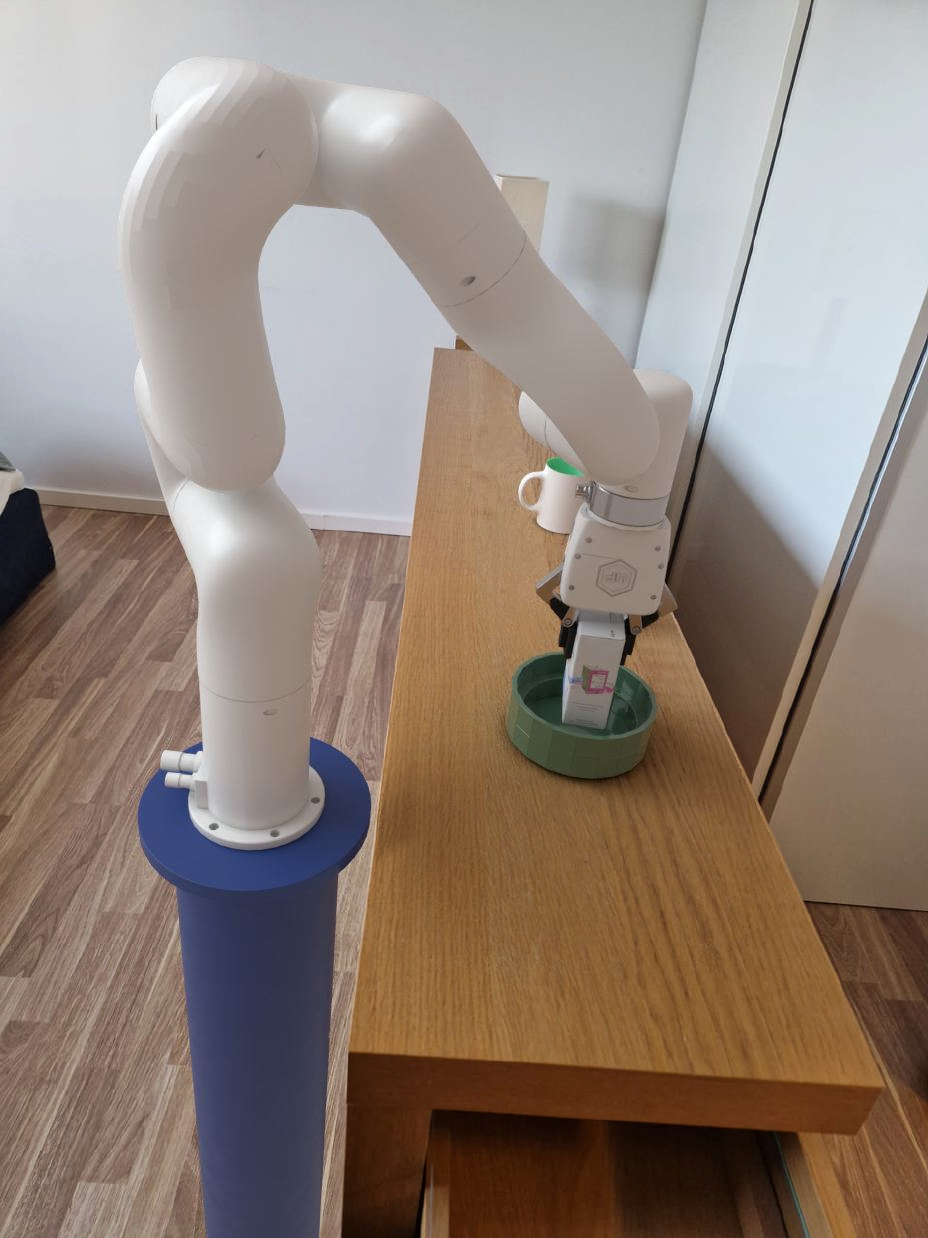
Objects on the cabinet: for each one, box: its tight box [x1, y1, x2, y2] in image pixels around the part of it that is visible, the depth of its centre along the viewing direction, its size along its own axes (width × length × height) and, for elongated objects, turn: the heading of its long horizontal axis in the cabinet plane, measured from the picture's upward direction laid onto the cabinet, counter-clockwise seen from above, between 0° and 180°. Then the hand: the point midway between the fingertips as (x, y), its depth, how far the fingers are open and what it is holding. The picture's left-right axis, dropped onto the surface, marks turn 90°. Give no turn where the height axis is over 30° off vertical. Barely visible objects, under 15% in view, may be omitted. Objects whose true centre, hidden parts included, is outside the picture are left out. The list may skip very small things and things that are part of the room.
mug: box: [517, 456, 591, 535], centre depth 146 cm, size 12×8×10 cm
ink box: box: [562, 609, 625, 729], centre depth 95 cm, size 9×5×12 cm, turn 174°
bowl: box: [505, 650, 659, 780], centre depth 98 cm, size 16×16×6 cm
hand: (593, 653), depth 94 cm, fingers closed on ink box, 5 cm apart
